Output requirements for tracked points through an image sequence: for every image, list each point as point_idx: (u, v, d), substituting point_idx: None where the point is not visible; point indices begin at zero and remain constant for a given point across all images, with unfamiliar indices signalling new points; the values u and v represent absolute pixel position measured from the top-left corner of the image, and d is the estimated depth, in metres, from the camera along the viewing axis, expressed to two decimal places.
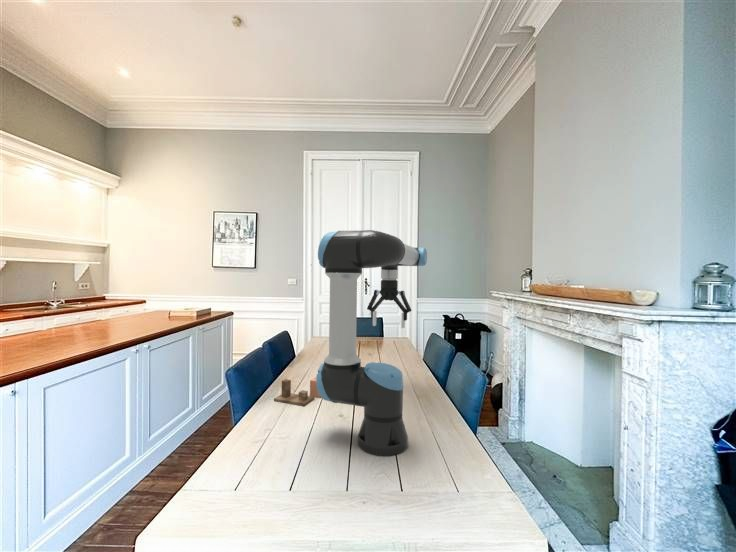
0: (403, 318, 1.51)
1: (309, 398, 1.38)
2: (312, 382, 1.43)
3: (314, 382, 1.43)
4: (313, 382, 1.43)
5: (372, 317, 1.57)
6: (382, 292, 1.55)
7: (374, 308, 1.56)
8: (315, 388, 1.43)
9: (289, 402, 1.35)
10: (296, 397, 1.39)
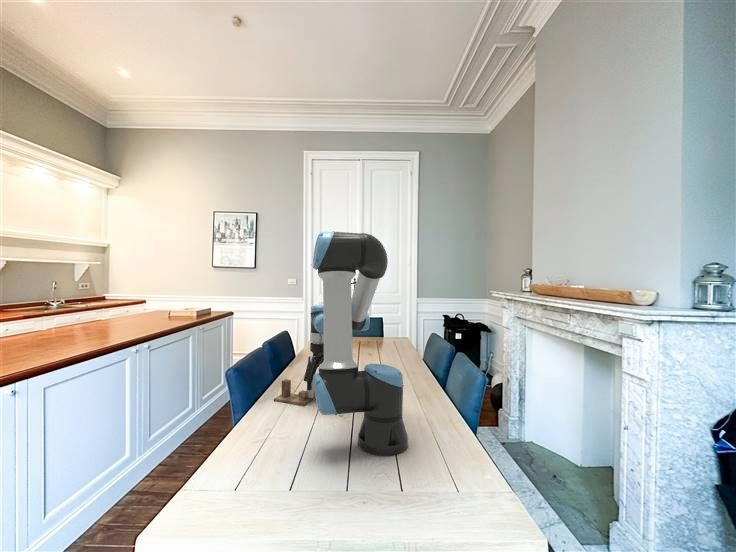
0: None
1: (309, 398, 1.38)
2: None
3: None
4: None
5: None
6: None
7: None
8: None
9: (289, 402, 1.35)
10: (296, 397, 1.39)
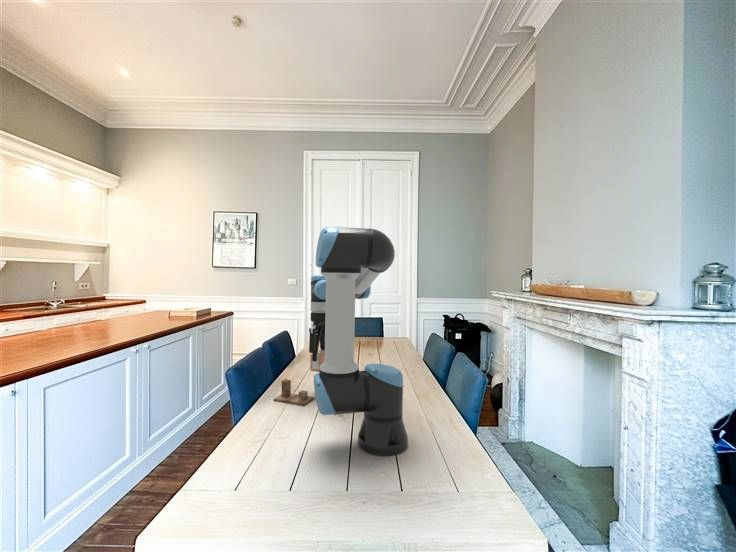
0: None
1: (309, 398, 1.38)
2: None
3: None
4: None
5: None
6: None
7: (320, 345, 1.48)
8: None
9: (289, 402, 1.35)
10: (296, 397, 1.39)
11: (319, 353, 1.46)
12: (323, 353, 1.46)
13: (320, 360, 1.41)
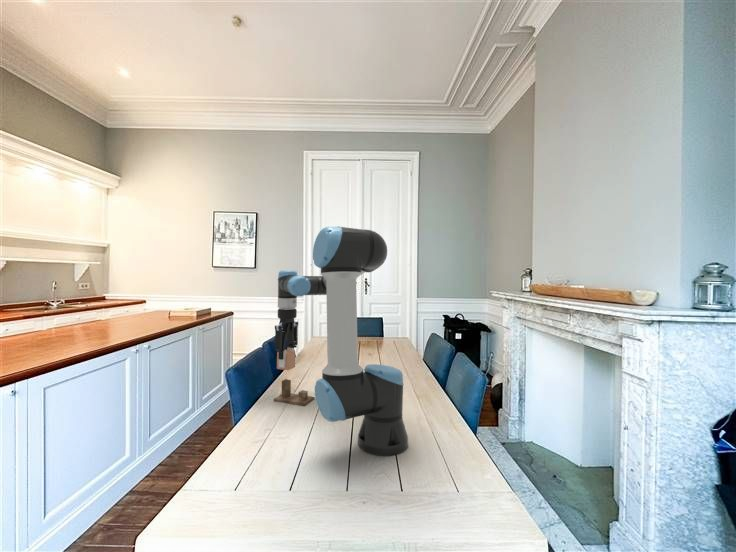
0: None
1: (309, 398, 1.38)
2: None
3: None
4: None
5: None
6: None
7: (288, 342, 1.43)
8: None
9: (289, 402, 1.35)
10: (296, 397, 1.39)
11: (287, 350, 1.42)
12: (291, 351, 1.42)
13: (287, 358, 1.37)
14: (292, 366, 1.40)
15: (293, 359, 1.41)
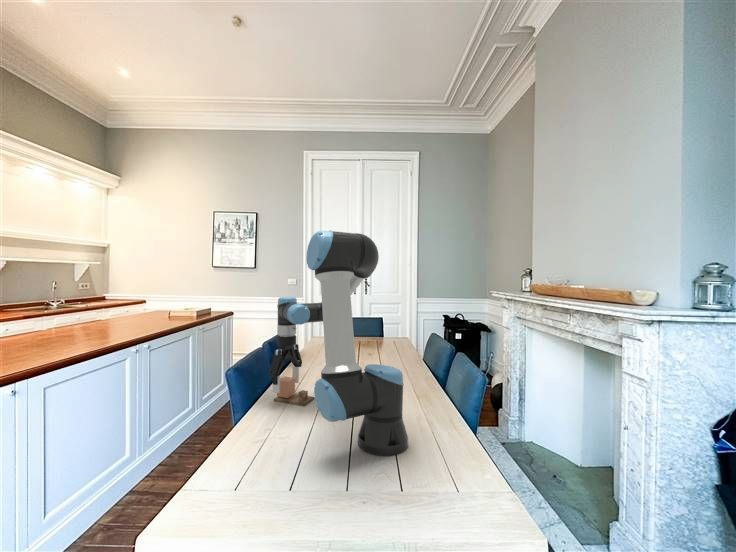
0: None
1: (309, 398, 1.38)
2: None
3: (281, 382, 1.38)
4: (280, 382, 1.38)
5: None
6: None
7: (292, 363, 1.46)
8: (282, 388, 1.38)
9: (289, 402, 1.35)
10: (296, 397, 1.39)
11: (286, 377, 1.42)
12: (290, 377, 1.42)
13: (286, 386, 1.37)
14: (292, 393, 1.40)
15: (293, 386, 1.40)
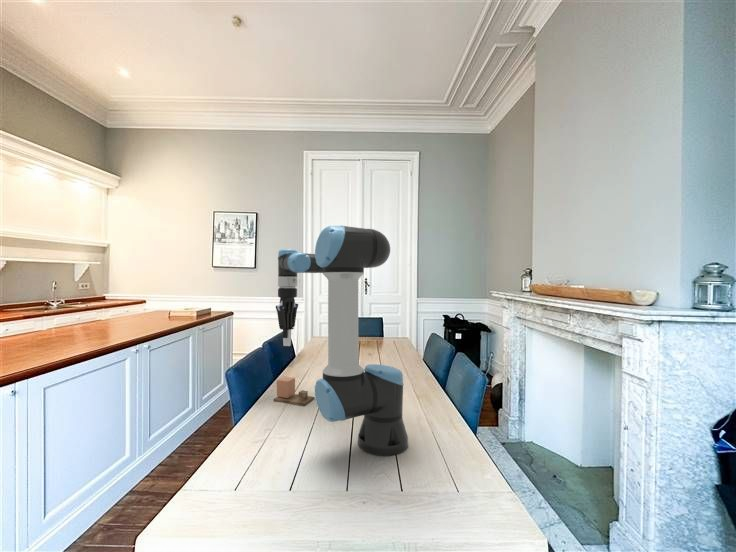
0: None
1: (309, 398, 1.38)
2: (279, 382, 1.38)
3: (281, 382, 1.38)
4: (280, 382, 1.38)
5: None
6: None
7: None
8: (282, 388, 1.38)
9: (289, 402, 1.35)
10: (296, 397, 1.39)
11: (286, 377, 1.42)
12: (290, 377, 1.42)
13: (286, 386, 1.37)
14: (292, 393, 1.40)
15: (293, 386, 1.40)
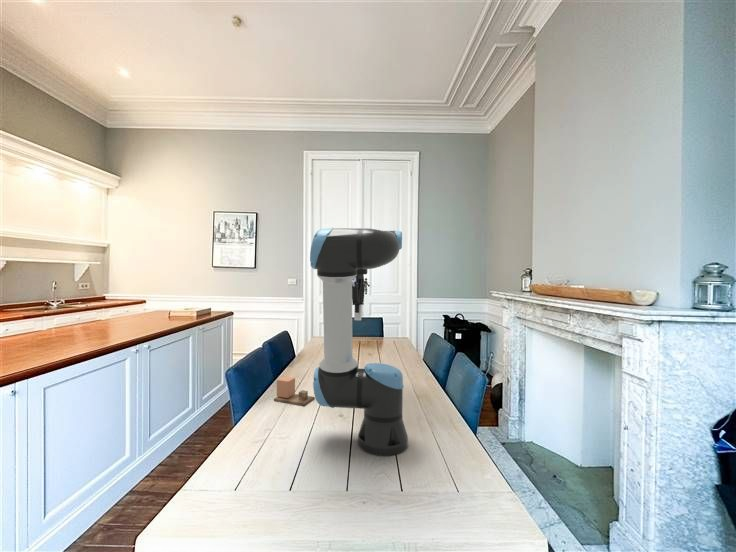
0: None
1: (309, 398, 1.38)
2: (279, 382, 1.38)
3: (281, 382, 1.38)
4: (280, 382, 1.38)
5: None
6: None
7: None
8: (282, 388, 1.38)
9: (289, 402, 1.35)
10: (296, 397, 1.39)
11: (286, 377, 1.42)
12: (290, 377, 1.42)
13: (286, 386, 1.37)
14: (292, 393, 1.40)
15: (293, 386, 1.40)
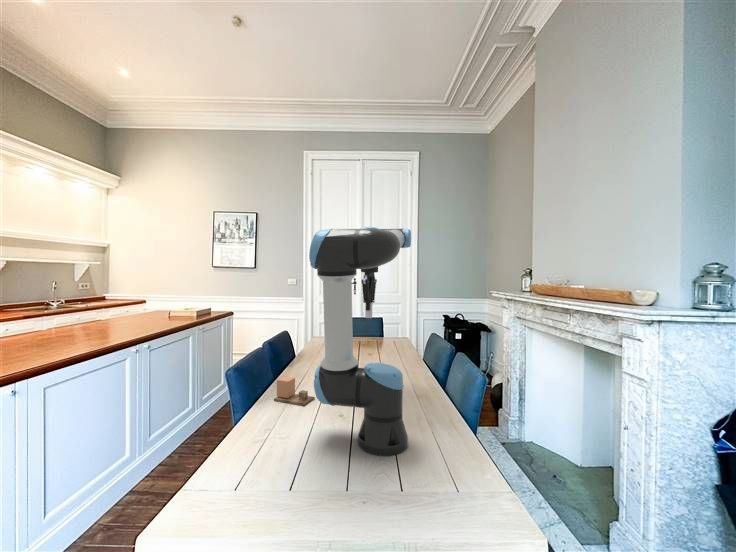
0: None
1: (309, 398, 1.38)
2: (279, 382, 1.38)
3: (281, 382, 1.38)
4: (280, 382, 1.38)
5: None
6: None
7: None
8: (282, 388, 1.38)
9: (289, 402, 1.35)
10: (296, 397, 1.39)
11: (286, 377, 1.42)
12: (290, 377, 1.42)
13: (286, 386, 1.37)
14: (292, 393, 1.40)
15: (293, 386, 1.40)
